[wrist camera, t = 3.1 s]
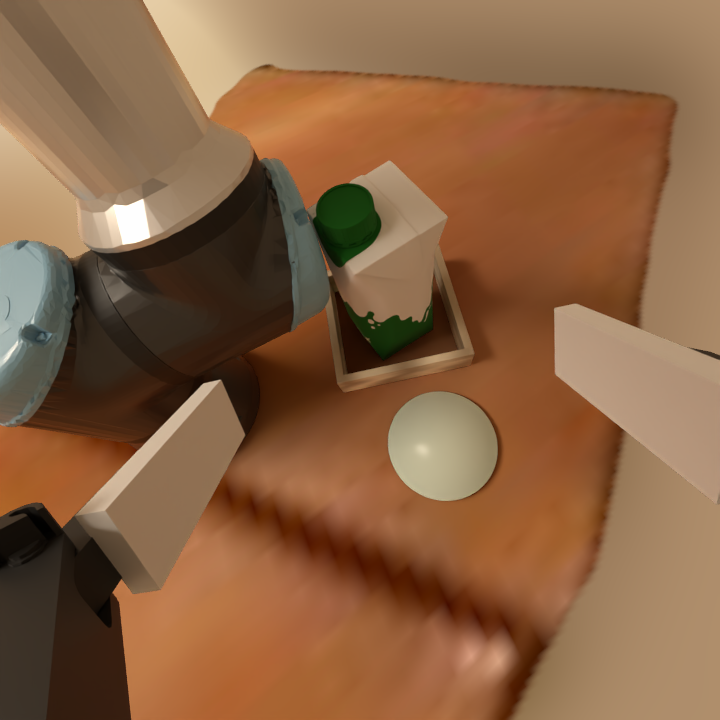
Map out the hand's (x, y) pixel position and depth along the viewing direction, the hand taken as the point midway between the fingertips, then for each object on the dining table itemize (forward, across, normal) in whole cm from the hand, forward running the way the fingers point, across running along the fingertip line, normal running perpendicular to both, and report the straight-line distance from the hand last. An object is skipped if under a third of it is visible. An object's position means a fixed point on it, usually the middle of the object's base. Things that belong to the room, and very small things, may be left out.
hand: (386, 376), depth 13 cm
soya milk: (+28, +1, -7) cm, 29 cm away
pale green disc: (+17, +3, -17) cm, 24 cm away
